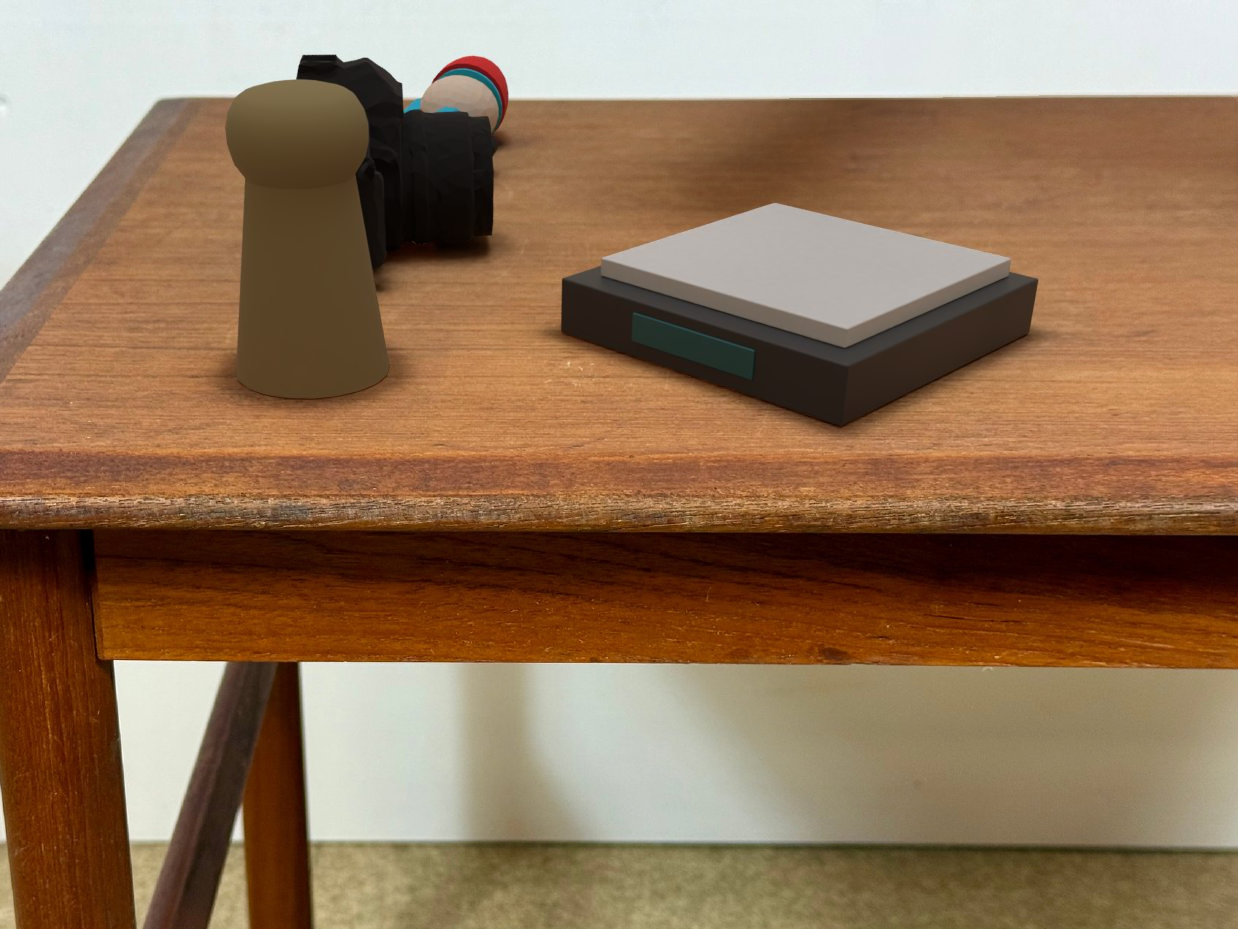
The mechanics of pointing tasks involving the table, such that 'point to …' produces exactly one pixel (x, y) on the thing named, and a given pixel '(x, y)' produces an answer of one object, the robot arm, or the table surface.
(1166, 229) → the table surface
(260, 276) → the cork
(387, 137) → the film camera
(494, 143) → the toy figure
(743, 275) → the scale
